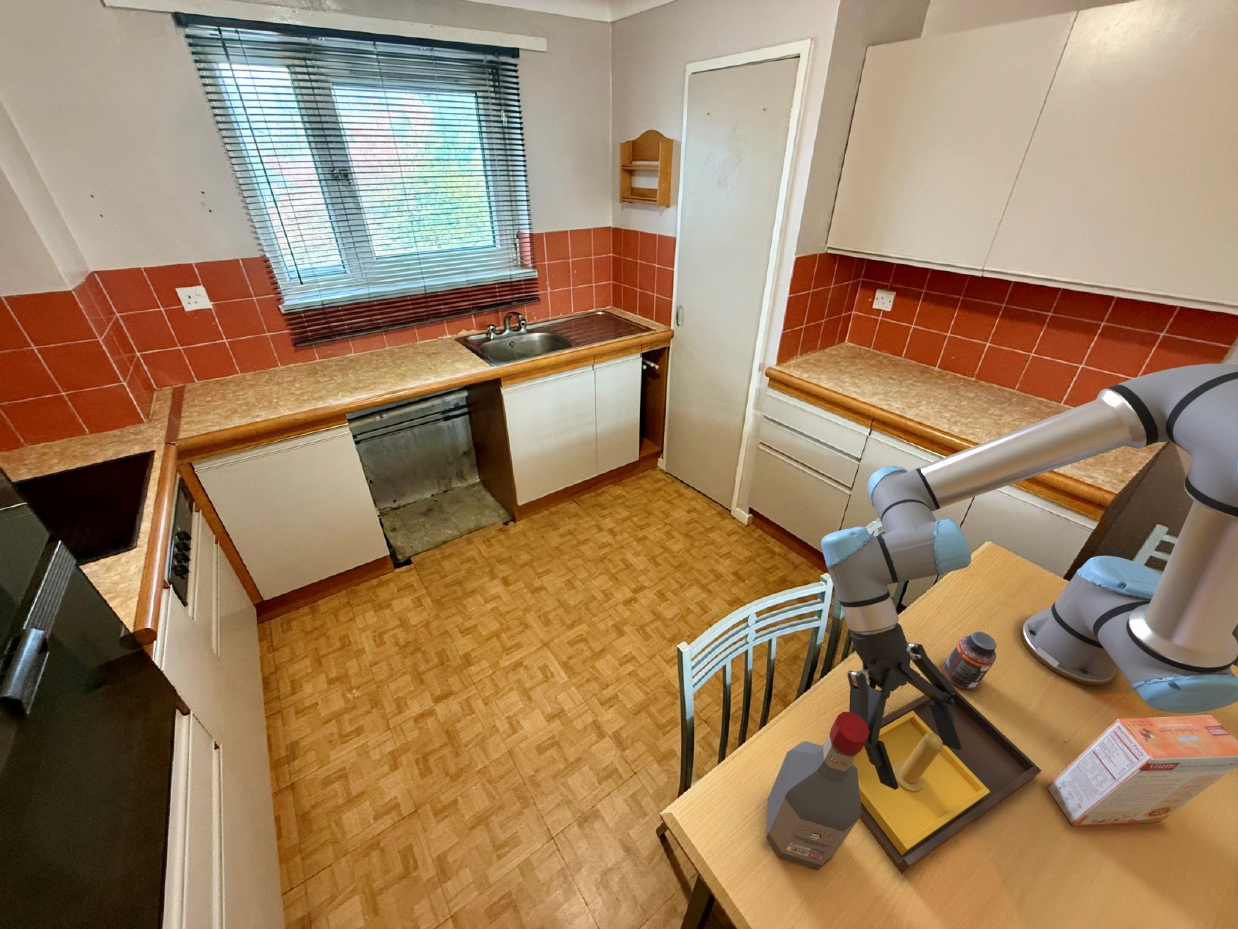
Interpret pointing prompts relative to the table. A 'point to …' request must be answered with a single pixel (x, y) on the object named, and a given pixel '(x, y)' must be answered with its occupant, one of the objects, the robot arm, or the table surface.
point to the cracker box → (1144, 770)
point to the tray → (916, 784)
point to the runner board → (981, 755)
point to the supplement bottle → (970, 660)
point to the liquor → (817, 795)
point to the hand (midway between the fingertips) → (922, 765)
